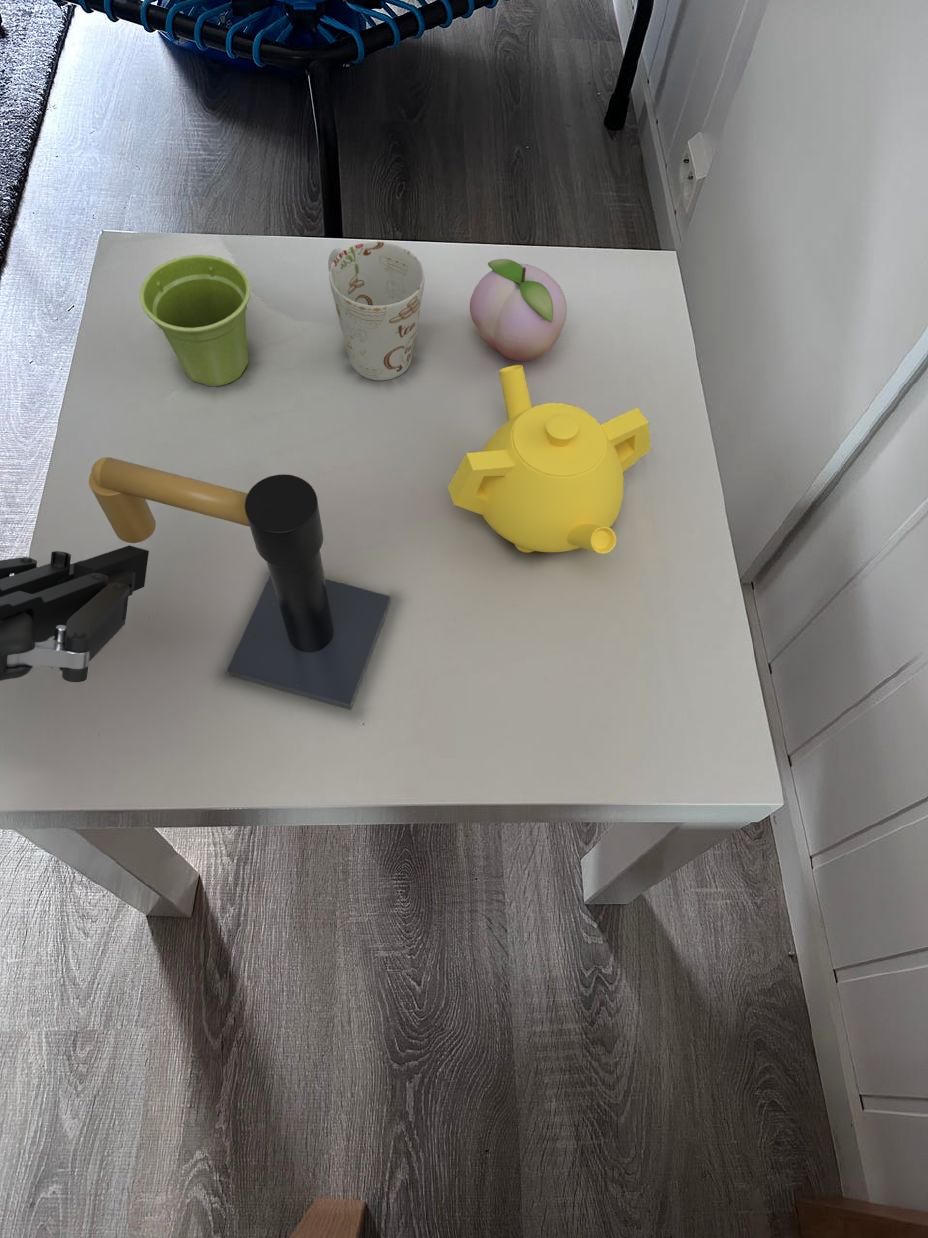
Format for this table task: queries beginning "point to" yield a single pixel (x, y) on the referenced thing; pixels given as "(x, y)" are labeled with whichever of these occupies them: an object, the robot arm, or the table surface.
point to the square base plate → (310, 635)
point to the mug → (377, 305)
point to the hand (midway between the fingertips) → (136, 566)
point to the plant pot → (201, 315)
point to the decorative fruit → (518, 309)
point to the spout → (213, 507)
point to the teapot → (551, 472)
